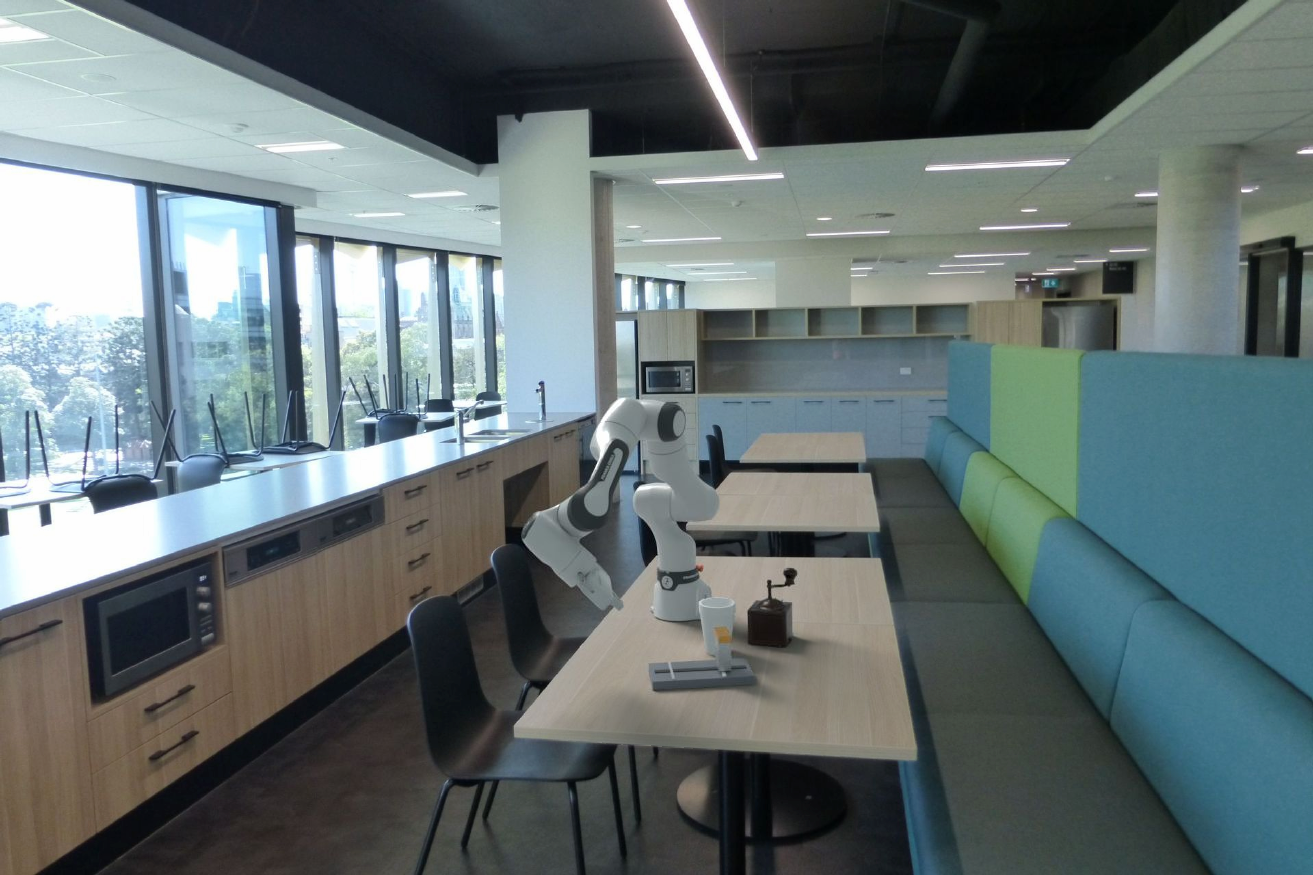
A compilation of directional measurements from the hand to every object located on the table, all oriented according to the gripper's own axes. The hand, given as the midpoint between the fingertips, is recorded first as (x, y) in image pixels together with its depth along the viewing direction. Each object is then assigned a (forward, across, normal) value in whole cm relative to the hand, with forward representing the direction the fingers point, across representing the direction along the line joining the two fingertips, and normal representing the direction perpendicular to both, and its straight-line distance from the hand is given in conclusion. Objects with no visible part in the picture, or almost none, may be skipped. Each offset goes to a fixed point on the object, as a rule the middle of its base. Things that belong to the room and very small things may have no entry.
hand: (621, 606), depth 212 cm
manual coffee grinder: (+43, +26, -16) cm, 53 cm away
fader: (+28, 0, -6) cm, 29 cm away
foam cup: (+31, +17, -5) cm, 36 cm away
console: (+26, 0, 0) cm, 26 cm away
